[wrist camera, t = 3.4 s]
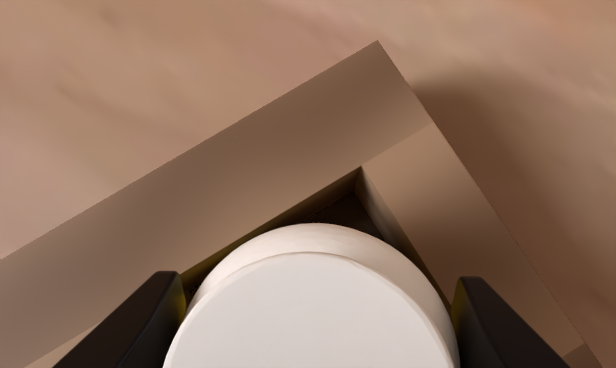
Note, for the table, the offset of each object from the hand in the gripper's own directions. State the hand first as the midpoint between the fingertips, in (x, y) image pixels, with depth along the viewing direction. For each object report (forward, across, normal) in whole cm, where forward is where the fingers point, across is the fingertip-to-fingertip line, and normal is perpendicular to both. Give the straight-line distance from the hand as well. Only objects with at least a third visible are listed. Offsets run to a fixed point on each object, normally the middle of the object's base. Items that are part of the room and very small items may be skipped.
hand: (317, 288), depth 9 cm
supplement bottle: (+4, 0, +6) cm, 7 cm away
